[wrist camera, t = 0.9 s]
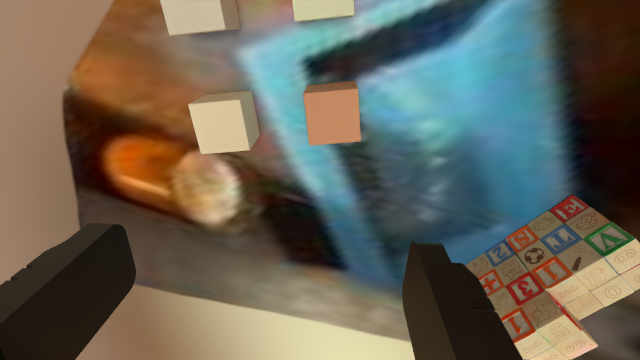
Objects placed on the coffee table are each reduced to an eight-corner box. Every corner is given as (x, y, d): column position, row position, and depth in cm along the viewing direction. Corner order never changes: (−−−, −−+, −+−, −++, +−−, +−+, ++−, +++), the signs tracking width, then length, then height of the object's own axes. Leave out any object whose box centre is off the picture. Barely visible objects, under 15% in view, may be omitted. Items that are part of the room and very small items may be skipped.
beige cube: (230, -30, 30) (211, -41, 26) (240, 28, 32) (225, 29, 28) (178, -24, 31) (151, -33, 26) (192, 34, 33) (169, 35, 28)
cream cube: (252, 90, 35) (239, 99, 30) (260, 135, 37) (249, 150, 32) (206, 94, 35) (188, 104, 31) (217, 138, 37) (201, 154, 33)
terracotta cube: (354, 80, 34) (358, 88, 30) (357, 127, 36) (360, 141, 32) (307, 85, 34) (303, 93, 30) (312, 130, 36) (309, 145, 32)
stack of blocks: (571, 191, 38) (668, 259, 27) (598, 223, 40) (700, 299, 29) (426, 288, 45) (456, 373, 34) (454, 312, 47) (491, 400, 36)
